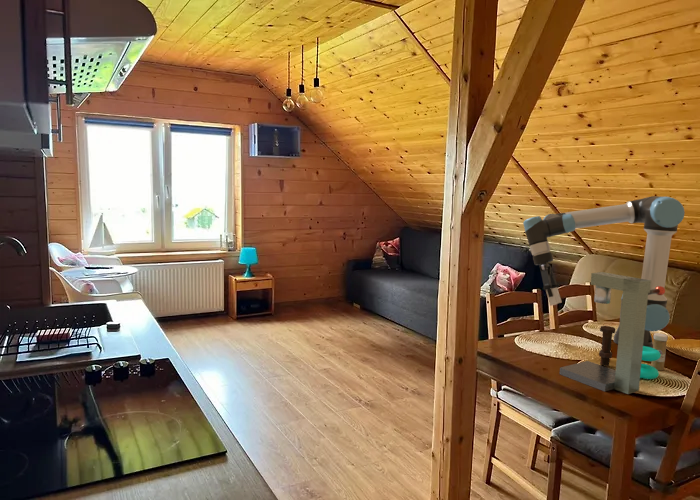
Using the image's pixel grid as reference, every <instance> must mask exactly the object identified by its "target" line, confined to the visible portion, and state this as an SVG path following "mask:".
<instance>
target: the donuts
mask: <svg viewBox="0 0 700 500" xmlns="http://www.w3.org/2000/svg"><path fill="white" fill-rule="evenodd" d="M660 357H661V354H660V352H659V351H658V350H656V349H654V348H653V347H646V346H643V351H642V361H644V362H651V361H655V360H658V359H659V358H660ZM659 375H660V372H659V370H657V369H656V368H654V367H653V366H651V364H646V363H641V372H640V379H642V378H643V379H644V380H654V379H657V378H658V377H659Z"/></svg>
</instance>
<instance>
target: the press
mask: <svg viewBox="0 0 700 500" xmlns="http://www.w3.org/2000/svg"><path fill="white" fill-rule="evenodd" d="M590 285H591V286H595V291H594V303H597V304H603V305H604V304H606V305H607V304H610V303H611V297H612V289H613V290H616V291H621V292H622V294H623V296H621V298H622V307H621V306H620V312H621V318H620V317H619V323H620V329H619V340H618V344H617V352H616V353H617V354H616V362H615V369H613V368H610V367H608V366H602V365H601V364H598V363H595V362H592V361H589V360H586V361H581V362H577V363H574V364H570V365H565V366H562V367H559V375H561V376H563V377H565V378H568V379H570V380H573V381H576V382H579V383H581V384H583V385H586V386H590V387H592V388H594V389H597V390H600V391H602V392H608V391H611V390H616V391H618V392H621V393H623V394H627V395H630V394H633V393H637V392H639V389H640V381H641V378H640V372H641V364H642V361H643V360H642V351H643V341H644V331H645V321H646V311H647V300H648V295H651V294H657V295H663V294H664V295H665V293H666V287H665V288H664V287H662V286H657V287H656V288H655V289H652V290H650V286H651V280H645V279H641V278H639V277H633V276H628V275H621V274H616V273H610V272H604V271H598V272H592V273H591V275H590ZM636 391H637V392H636Z"/></svg>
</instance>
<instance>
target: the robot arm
mask: <svg viewBox="0 0 700 500" xmlns="http://www.w3.org/2000/svg"><path fill="white" fill-rule="evenodd" d="M684 217H685V208H684V205H683V204H682V203H681V201H679V200H678V199H676V198H674V197H670V196H657V195H652V196H648V197H643V198H639V199H634V200H628V201H627V202H625V203H623V204H618V205H610V206H603V207H602V206H601V207H597V208H595V207H594V208H589V209H588V208H587V209H581V210H574V211H566V212H560V213H549V214H547V215H545V216H544V217H543V219H542V218H541V216H533V217H529V218H526V219H525V220H524V221H523V228H524V233H525V236H526V239H527V242H528V246H529V249H528V251H529V252H530V253H531V255H532V261H533V263H534V265H535V266H539V270H540V275H541V279H542V283H543V287H542V289H543V291H545V292H546V296H547V299H548V303H549V306H556V305H558V304H561V303H562V298H561V295H560V293H559V288H560V286H559V284H558V283H557V280H556V277H555V275H554V272H553V269H552V265H551V264H549V263H550V262H553V261H554V258H553V254H552V252H551V246H550V244H549V241H548V238H551V237H555V236H560V235H563V234H568V233H571V232H572V233H573V232H574V231H575V230H576V229H583V228H589V227H590V228H591V227H597V226H605V225H612V224H619V223H630V224H643V230H644V232H646V234H647V235H646V242H645V247H644V255H643V257H644V258H643V263H642V269H641V270H642V271H641V278H640V279H645V280H651V286H650V290H652V289H655V288H656V287H657V286H662V287H664V288H665V289H666V287H665V286H666V282H667V281H666V280H667V273H668V264H669V257H670V251H671V244H672V237H673V235H675V234H677V233H678V227H679V224H680V223H682V221H683V219H684ZM622 296H623V293H622ZM622 296H621V299H620V300H621V301H620V308H621V307H622ZM667 306H668V298H667V297H666V296H665V293H664V294H663V295H657V294H651V295H648V300H647V311H646V321H645V331H644V341H643V346H646V347H651V348H653V342H654V340H653V337H652V335H651V332H659V331H662V330H663V329H664V328H666V326H667V325H668V324H669V322H670V319H671V318H670V317H671V316H670V312H669V310H668V309H667ZM619 312H620V313H619V319H620V318H621V311H619ZM619 329H620V322H619V323H618V327H617V329H616V330H615V333H614V335H613V339H612V340H613V342H614V343H615V344H617V345H618V340H619Z"/></svg>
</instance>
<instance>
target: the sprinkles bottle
mask: <svg viewBox="0 0 700 500" xmlns="http://www.w3.org/2000/svg"><path fill="white" fill-rule="evenodd" d="M668 337H669V336H668V335H667V334H665V333H661V332H660V333H659V332H655V333H653V337H652V339H653V345H652V348H654V349H656V350H658V351H659V352H660V354H661V357H660V358H659V359H658V360H655V361H650V362H651V363H650V366H653V367H654V368H656V369H657V370H658V371H664V370H665V361H666V353H667V352H666V350H667V342H668Z"/></svg>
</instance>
